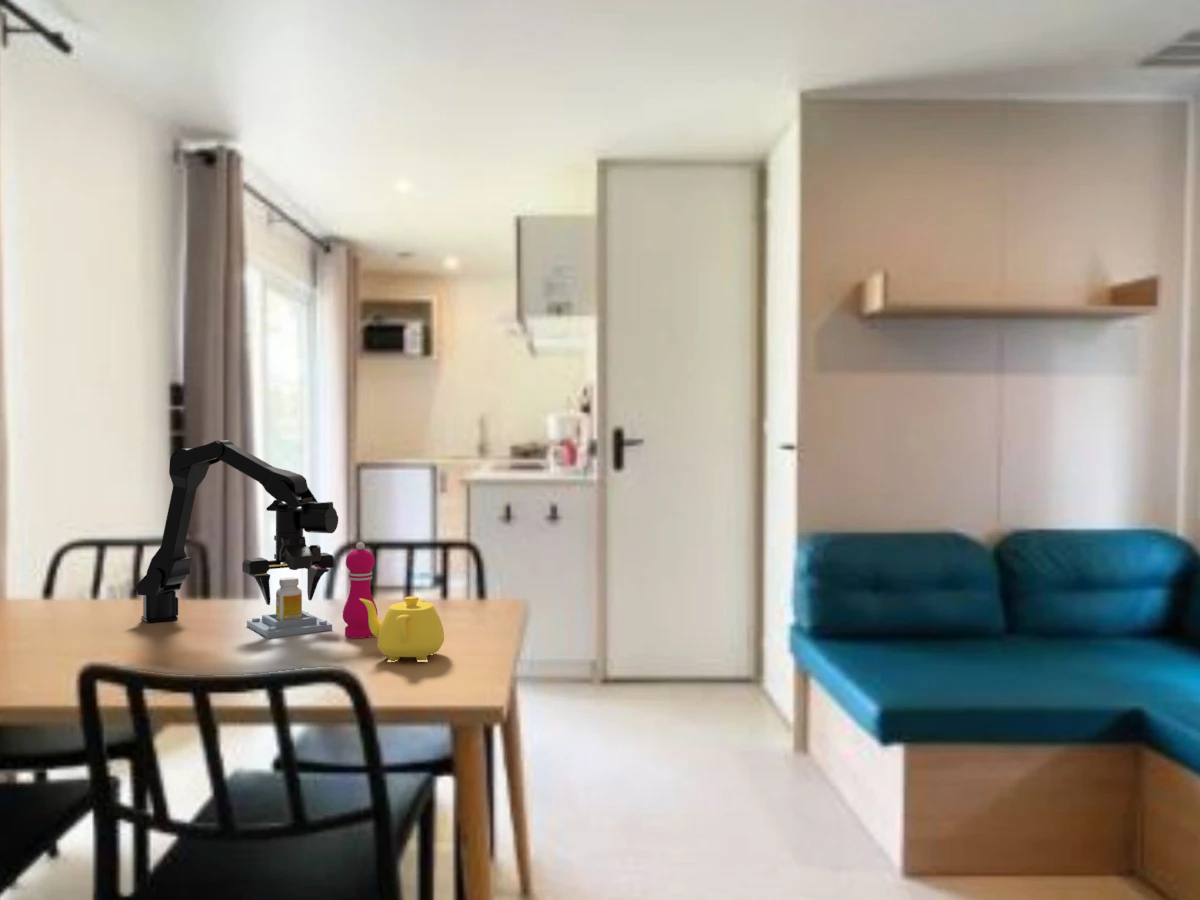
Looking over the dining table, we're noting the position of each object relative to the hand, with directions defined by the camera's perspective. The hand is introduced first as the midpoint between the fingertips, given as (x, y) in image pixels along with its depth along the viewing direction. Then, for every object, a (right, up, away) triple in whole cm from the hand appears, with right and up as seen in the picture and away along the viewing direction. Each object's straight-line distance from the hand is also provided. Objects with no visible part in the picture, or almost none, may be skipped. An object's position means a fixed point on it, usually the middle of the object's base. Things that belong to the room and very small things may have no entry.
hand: (289, 602), depth 208 cm
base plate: (0, -6, 0) cm, 6 cm away
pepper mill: (+17, -6, -6) cm, 19 cm away
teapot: (+30, -7, -24) cm, 39 cm away
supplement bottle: (0, -5, 0) cm, 5 cm away
